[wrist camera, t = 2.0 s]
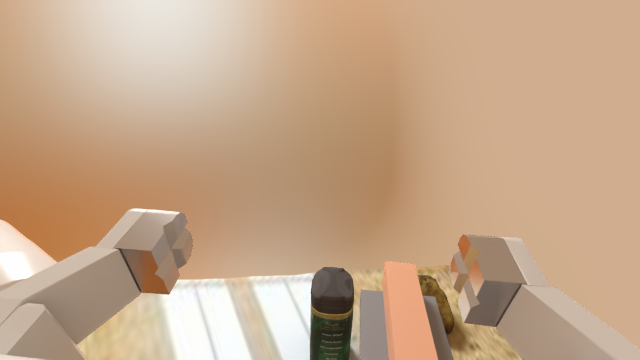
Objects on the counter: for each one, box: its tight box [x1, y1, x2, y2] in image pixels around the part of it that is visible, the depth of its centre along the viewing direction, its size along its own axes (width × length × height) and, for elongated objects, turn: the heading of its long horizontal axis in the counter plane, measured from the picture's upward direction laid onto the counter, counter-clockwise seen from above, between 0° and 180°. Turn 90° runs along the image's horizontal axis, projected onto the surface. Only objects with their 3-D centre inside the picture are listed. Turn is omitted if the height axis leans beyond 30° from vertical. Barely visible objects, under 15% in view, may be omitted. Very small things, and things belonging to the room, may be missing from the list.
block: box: [382, 261, 438, 360], centre depth 35 cm, size 22×4×4 cm, turn 173°
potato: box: [418, 275, 454, 334], centre depth 73 cm, size 8×13×8 cm, turn 176°
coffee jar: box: [310, 267, 354, 360], centre depth 61 cm, size 10×8×19 cm
